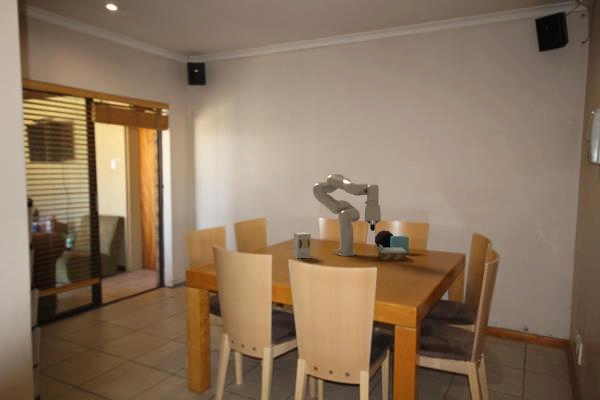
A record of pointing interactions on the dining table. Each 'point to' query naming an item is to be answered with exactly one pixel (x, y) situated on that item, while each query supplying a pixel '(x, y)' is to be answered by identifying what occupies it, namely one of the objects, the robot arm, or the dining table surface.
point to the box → (392, 256)
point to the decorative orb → (383, 239)
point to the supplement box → (302, 245)
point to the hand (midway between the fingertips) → (372, 230)
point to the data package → (400, 242)
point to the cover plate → (391, 250)
